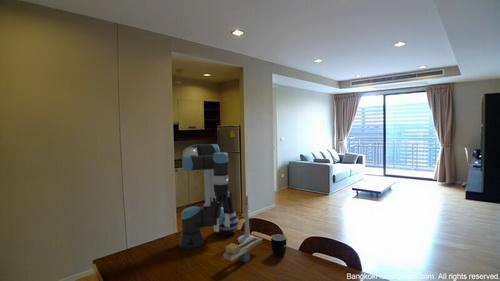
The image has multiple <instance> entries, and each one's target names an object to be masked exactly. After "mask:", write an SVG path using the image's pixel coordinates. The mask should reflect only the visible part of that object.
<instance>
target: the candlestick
mask: <svg viewBox="0 0 500 281" xmlns="http://www.w3.org/2000/svg"><path fill="white" fill-rule="evenodd" d="M243 206H244V211H245V212H244V234H241V235H240V236H238V238H237V239H236V240H238V241H237V242H238V243H239V244H242V243H243V242H245V241H247V240H249V239H250V238H252V237H254V236H255V235H252V234H250V220H249V207H250V205H249V196H248V195H245V196H244V205H243Z"/></svg>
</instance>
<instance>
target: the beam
mask: <svg viewBox="0 0 500 281" xmlns="http://www.w3.org/2000/svg"><path fill="white" fill-rule="evenodd" d="M253 236H254V237H252V238H250V239H249V240H247V241H245V242H243V243H242V244H241V243H239V244H238V245H239V246H240V252H238V253H236V254H234V255H233V254H232V255H231V254H230V253H227V252H226V251H225V252H223V253H222V258H223V259H224V260H225V259H226V260H228V261H231V262H232V261H234V260H236V259H238V261H241V262H243V263H245V264H246V263H247V262H249V261H250V260H251V250H252V249H253V248H256V247H257V246H259V245H260V244H262V243H263V242H264V241H263V240H264V239H263V237H259V236H255V235H253Z"/></svg>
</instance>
